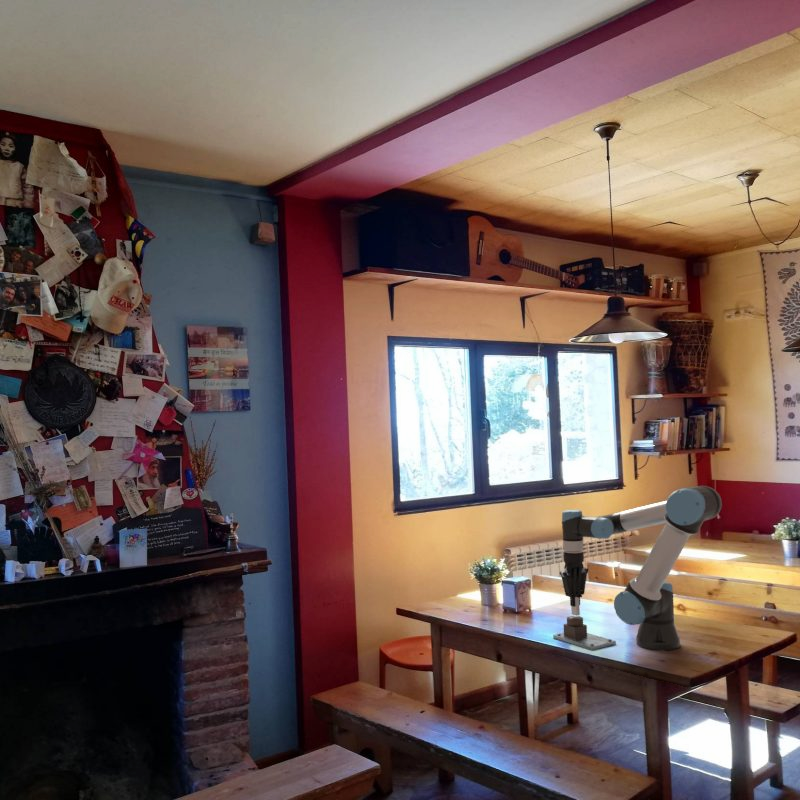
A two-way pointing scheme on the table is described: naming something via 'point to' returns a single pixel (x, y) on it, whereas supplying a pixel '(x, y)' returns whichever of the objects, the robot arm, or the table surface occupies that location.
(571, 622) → the brown block
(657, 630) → the robot arm
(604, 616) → the table surface
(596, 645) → the plate
